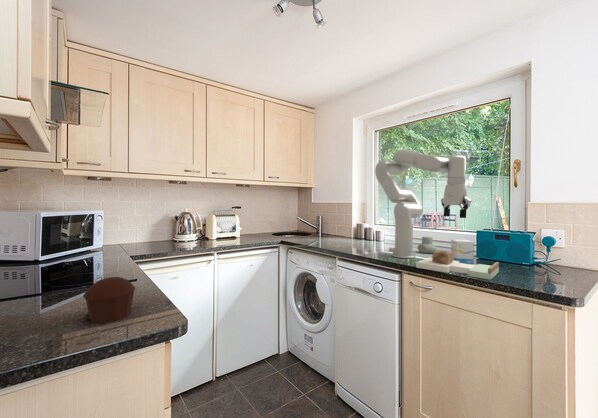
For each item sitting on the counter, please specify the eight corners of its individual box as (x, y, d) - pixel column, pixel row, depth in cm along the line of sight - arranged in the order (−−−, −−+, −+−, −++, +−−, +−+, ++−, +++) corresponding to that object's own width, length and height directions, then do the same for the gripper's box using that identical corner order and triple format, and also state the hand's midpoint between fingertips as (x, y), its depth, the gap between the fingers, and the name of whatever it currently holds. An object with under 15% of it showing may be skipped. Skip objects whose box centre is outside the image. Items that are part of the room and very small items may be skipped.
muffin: (108, 306, 81) (108, 272, 81) (144, 308, 80) (144, 273, 80) (71, 324, 69) (70, 284, 69) (113, 327, 68) (112, 286, 68)
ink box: (473, 264, 143) (474, 241, 143) (455, 263, 145) (456, 241, 145) (467, 260, 152) (467, 239, 151) (450, 260, 153) (450, 238, 153)
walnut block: (432, 262, 135) (432, 252, 135) (437, 260, 140) (437, 250, 140) (448, 264, 130) (448, 254, 130) (452, 262, 135) (452, 252, 135)
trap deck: (416, 267, 135) (416, 258, 134) (429, 261, 148) (429, 253, 147) (490, 279, 114) (490, 268, 114) (498, 272, 127) (498, 262, 127)
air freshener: (439, 254, 171) (439, 237, 171) (428, 254, 168) (429, 238, 168) (425, 251, 182) (425, 235, 181) (415, 251, 179) (415, 236, 178)
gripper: (436, 182, 143) (434, 215, 143) (465, 180, 126) (463, 218, 127) (448, 182, 145) (446, 215, 146) (478, 181, 128) (476, 218, 129)
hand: (454, 217), depth 136 cm, fingers open, 9 cm apart
